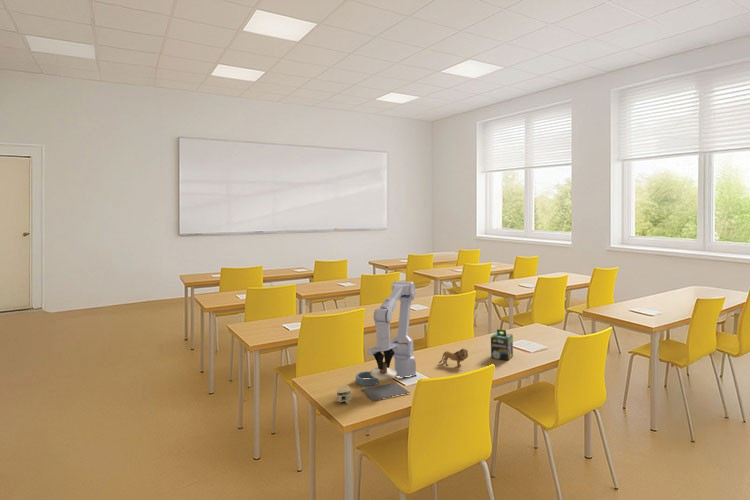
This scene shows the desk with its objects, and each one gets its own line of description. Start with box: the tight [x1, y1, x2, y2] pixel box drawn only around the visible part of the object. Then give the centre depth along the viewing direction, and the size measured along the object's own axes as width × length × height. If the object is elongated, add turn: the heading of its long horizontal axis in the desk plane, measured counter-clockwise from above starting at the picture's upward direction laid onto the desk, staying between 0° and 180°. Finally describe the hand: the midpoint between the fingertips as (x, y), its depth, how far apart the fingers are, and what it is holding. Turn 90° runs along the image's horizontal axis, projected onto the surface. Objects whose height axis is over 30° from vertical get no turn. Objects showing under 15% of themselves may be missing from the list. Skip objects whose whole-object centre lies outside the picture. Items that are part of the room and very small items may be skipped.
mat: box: [360, 382, 411, 402], centre depth 194 cm, size 17×13×1 cm
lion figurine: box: [438, 348, 469, 369], centre depth 225 cm, size 15×5×9 cm, turn 68°
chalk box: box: [490, 328, 514, 361], centre depth 236 cm, size 9×9×15 cm
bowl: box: [355, 370, 380, 387], centre depth 206 cm, size 10×10×3 cm
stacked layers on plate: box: [336, 385, 352, 404], centre depth 185 cm, size 10×9×6 cm
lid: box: [369, 361, 397, 380], centre depth 194 cm, size 11×11×5 cm
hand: (383, 368), depth 194 cm, fingers closed on lid, 3 cm apart
